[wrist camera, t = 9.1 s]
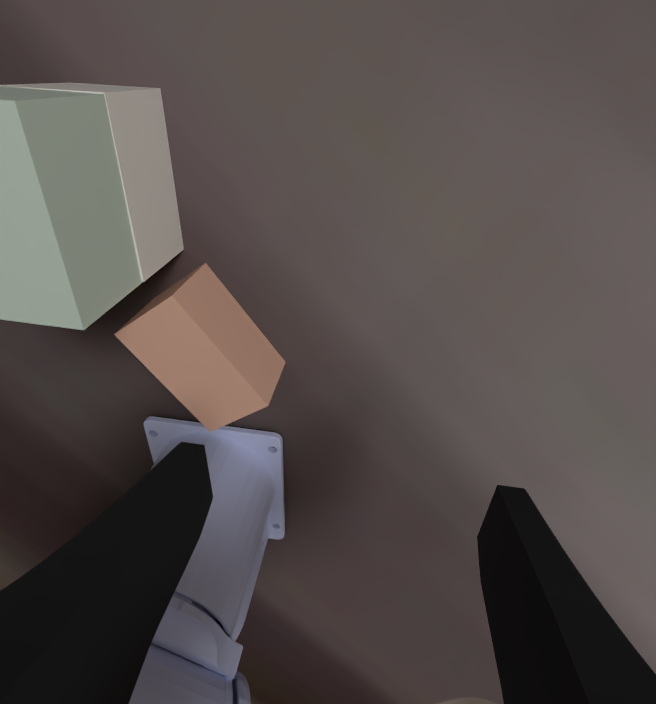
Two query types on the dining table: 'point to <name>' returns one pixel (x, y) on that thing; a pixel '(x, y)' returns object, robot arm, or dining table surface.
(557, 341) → the dining table surface
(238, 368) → the terracotta brick
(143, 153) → the cream brick
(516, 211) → the dining table surface
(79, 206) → the sage brick
